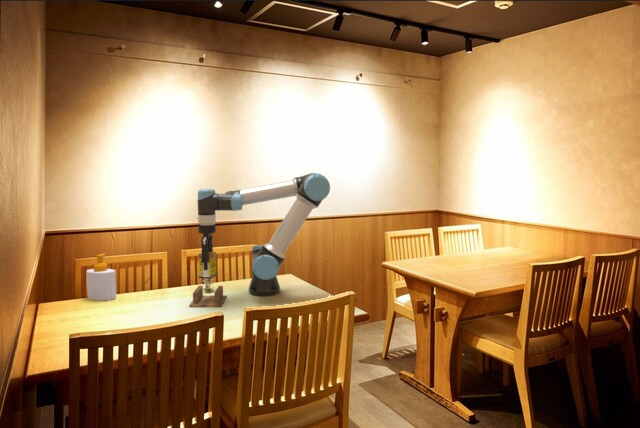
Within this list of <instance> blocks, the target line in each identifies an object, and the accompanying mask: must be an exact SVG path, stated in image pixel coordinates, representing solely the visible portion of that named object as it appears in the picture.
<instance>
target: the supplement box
mask: <svg viewBox="0 0 640 428" xmlns="http://www.w3.org/2000/svg"><path fill="white" fill-rule="evenodd" d="M201 260H202V252H201V253H199V254H198V278H199V279H211V280H212V279H213V278H215V277H216V276H217V252H215V251H213V252H209V277H203V263H201Z"/></svg>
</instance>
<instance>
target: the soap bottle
mask: <svg viewBox="0 0 640 428" xmlns="http://www.w3.org/2000/svg"><path fill="white" fill-rule="evenodd" d="M105 256H106V253H100V254H96V263H95V264H94V265H93V268H90V269H87V270H86V289H87V290H86V291H87V298H88V300H90V301H97V302H98V301H99V302H105V301H106V302H107V301H112V300H114V299H115V300H116V298H117V288H116V287H117V285H116V284H117V283H116V270H115V269H112V268H108V265H107V263H106V262H104V257H105Z"/></svg>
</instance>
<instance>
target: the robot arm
mask: <svg viewBox="0 0 640 428" xmlns="http://www.w3.org/2000/svg"><path fill="white" fill-rule="evenodd" d="M330 191H331V184H330V182H329V180H328V178H327V177H326V176H325V175H323V174H321V173H316V172H310V173H308V174H305V175H300V176H298V177H293V178H292V180H287V181H282V182H281V181H280V182H276V183H270V184H267V185H266V184H264V185H258V186H254V187H248V188H243V189H236V190H229V191H226V192H225V193H216V190H215V189H213V188H201V189H199V190H198V191H197V217H196V219H197V221H198V222H197V223H198V226H197V229H198V230H197V232H198V233H199V234H202V237H201V240H200V241H201V242H200V243H201V253H202V260H201V263H203V277H209V252H214V245H213V243H214V242H213V239H214V237H213V234H215V233H216V231H217V229H216V228H217V227H216V226H217V225H216V223H217V221H216V219H217V218H216V217H217V216H216V211H229V212H230V211H232V212H233V211H234V212H236V211H242V210H243V206H245V205H246V206H247V205H252V204H257V203H263V202H268V201H274V200H281V199H286V198H292V197H296V200H295V201H294V202H293V204H292V205H291V207H290V209H289V210H288V211H287V214H286V215H285V216H284V218H283V220H282V221H281V223H280V224H279V226H278V227H277V229H276V230H275V232H274V234H273V235H272V237H271V238H270V240H269V242H268V243H264V244H260V245H258V244H257V245H254V246H252V247H251V264H252V265H251V273H252V275H251V280H250V282H249V287H248V293H249V294H250V295H253V296H258V297H267V296H274V295H275V296H276V295H277V294H279V293H280V292H281V287H280V285H281V284H280V282H279V280H278V277H277V276H278V275H277V274H278V273H279V271H280V267H281V265H282V264H283V262H284V260H285V259H286V255H285V253H286V251H287V250H288V248H289V246H290V245H291V243H292V242H293V240H294V239H295V237H296V236H297V234H298V232H299V231H300V230H301V228H302V226H303V225H304V223H305V222H306V221H307V218H308V217H309V216H310V214H311V212H312V211H313V210H314V209H317V208H318V207H319V206H320V205H321V203H322V201H324V200H325V199H326V198H327V197H328V195H329V194H330Z"/></svg>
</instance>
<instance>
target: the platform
mask: <svg viewBox="0 0 640 428" xmlns="http://www.w3.org/2000/svg"><path fill="white" fill-rule="evenodd" d="M202 282H203V283H204V285H205V291H206V293H207V294H208V292H209V290H210V289H211V285H213V284H214V282H213V280H212V278H211V279H207V278H202Z"/></svg>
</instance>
